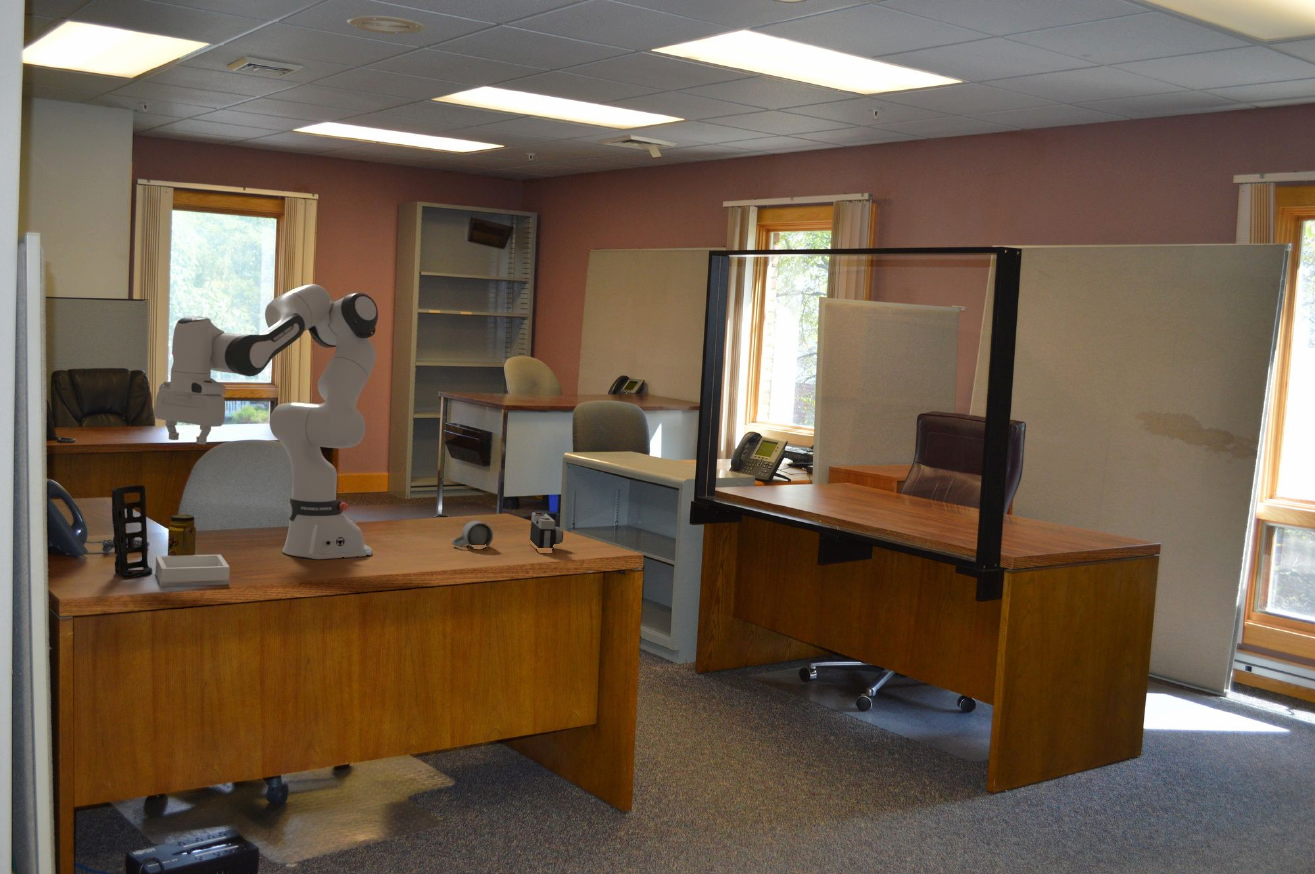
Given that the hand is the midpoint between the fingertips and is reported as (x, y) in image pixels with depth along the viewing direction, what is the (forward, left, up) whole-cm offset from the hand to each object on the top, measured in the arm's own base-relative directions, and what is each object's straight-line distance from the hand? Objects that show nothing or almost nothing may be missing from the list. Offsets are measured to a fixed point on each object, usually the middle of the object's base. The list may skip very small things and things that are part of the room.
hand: (187, 441), depth 270 cm
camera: (-98, -5, -30) cm, 102 cm away
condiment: (0, +3, -30) cm, 30 cm away
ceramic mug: (-77, -10, -30) cm, 83 cm away
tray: (0, +18, -29) cm, 34 cm away
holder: (+12, +11, -30) cm, 34 cm away
